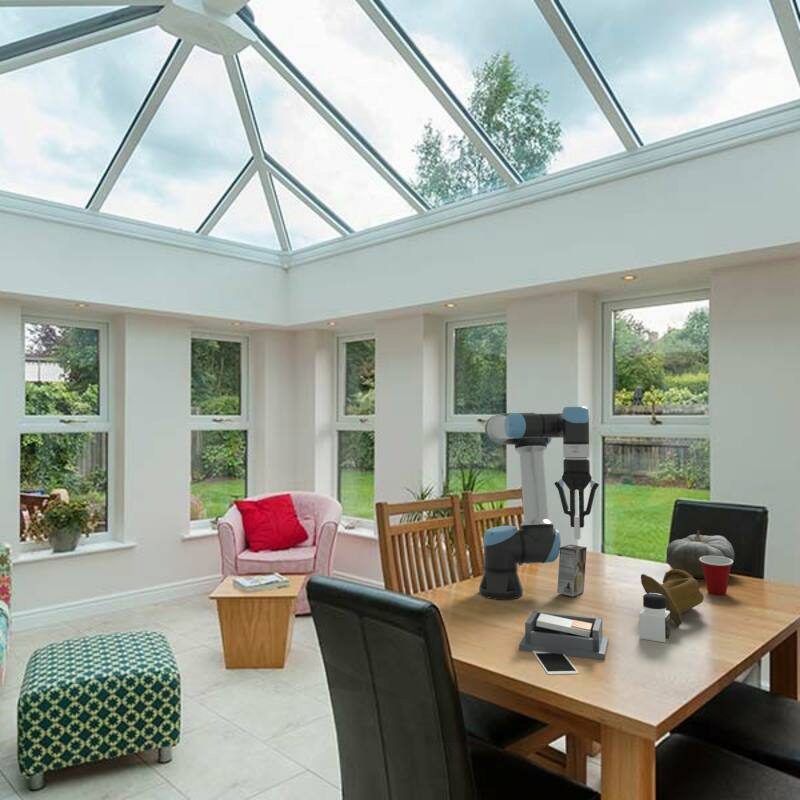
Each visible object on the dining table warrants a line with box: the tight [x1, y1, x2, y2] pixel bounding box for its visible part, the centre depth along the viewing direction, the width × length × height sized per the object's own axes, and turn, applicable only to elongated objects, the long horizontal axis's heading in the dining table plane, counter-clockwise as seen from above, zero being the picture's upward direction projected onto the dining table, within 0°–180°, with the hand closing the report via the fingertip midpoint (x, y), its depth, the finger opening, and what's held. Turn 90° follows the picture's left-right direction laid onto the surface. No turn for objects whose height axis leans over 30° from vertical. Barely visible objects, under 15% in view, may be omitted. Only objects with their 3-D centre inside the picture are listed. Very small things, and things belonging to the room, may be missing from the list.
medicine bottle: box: [638, 593, 672, 644], centre depth 188 cm, size 7×7×12 cm
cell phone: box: [532, 651, 580, 676], centre depth 170 cm, size 8×16×1 cm, turn 2°
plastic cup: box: [699, 556, 734, 596], centre depth 234 cm, size 11×11×12 cm
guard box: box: [518, 610, 609, 661], centre depth 182 cm, size 22×14×7 cm, turn 69°
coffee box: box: [556, 544, 588, 597], centre depth 235 cm, size 9×6×16 cm
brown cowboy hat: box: [640, 568, 705, 627], centre depth 208 cm, size 23×16×28 cm
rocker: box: [536, 613, 592, 637], centre depth 182 cm, size 14×7×2 cm, turn 69°
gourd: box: [666, 530, 735, 579], centre depth 262 cm, size 25×25×17 cm
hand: (577, 538), depth 197 cm, fingers closed
